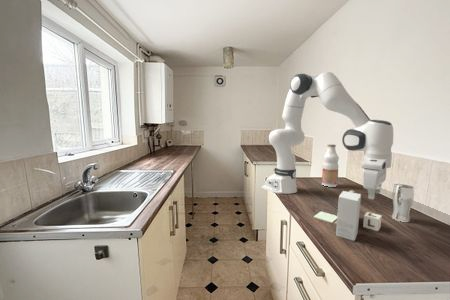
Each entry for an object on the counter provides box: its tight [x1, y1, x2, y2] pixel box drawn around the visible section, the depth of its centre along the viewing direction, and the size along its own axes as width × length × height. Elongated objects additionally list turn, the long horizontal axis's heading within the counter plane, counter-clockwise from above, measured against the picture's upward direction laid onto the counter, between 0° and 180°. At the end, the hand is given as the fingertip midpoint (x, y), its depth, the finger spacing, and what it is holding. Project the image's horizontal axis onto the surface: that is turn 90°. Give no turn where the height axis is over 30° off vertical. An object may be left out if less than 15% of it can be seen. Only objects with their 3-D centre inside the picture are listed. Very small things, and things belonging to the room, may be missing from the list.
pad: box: [313, 211, 337, 224], centre depth 96 cm, size 8×8×1 cm
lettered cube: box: [362, 211, 382, 232], centre depth 86 cm, size 5×5×5 cm
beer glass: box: [391, 183, 415, 223], centre depth 92 cm, size 7×7×15 cm
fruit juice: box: [321, 143, 340, 188], centre depth 142 cm, size 9×9×28 cm
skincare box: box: [335, 190, 362, 242], centre depth 80 cm, size 8×7×16 cm
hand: (374, 195), depth 85 cm, fingers open, 8 cm apart
